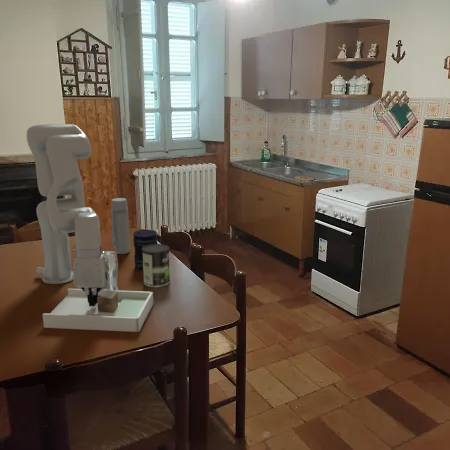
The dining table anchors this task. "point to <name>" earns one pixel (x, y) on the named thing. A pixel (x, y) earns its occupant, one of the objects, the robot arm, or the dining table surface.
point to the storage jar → (142, 245)
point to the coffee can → (156, 265)
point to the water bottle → (120, 226)
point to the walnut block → (107, 302)
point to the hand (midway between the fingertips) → (93, 304)
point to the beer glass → (111, 269)
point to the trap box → (92, 319)
